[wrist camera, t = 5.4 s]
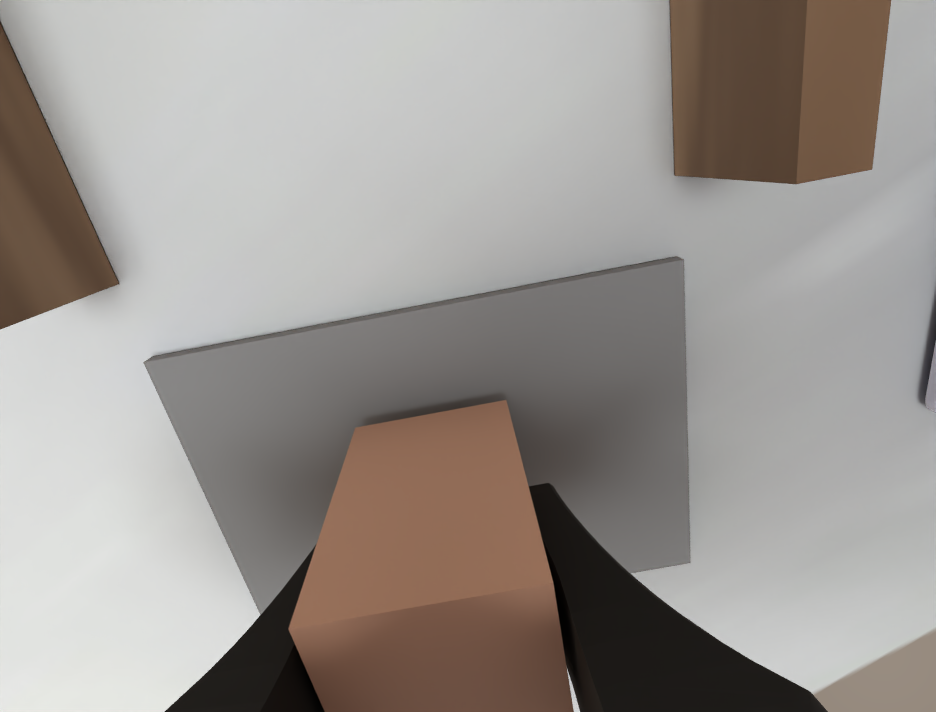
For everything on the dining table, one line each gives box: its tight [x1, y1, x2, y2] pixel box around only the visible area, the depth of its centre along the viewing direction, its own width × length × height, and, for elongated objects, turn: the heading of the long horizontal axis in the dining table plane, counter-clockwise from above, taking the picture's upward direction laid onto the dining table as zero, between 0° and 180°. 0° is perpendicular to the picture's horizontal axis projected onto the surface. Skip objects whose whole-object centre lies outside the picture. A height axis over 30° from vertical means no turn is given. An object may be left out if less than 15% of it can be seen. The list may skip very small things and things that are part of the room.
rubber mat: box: [143, 257, 690, 615], centre depth 15 cm, size 14×10×1 cm
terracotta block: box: [289, 400, 574, 712], centre depth 11 cm, size 4×4×6 cm
